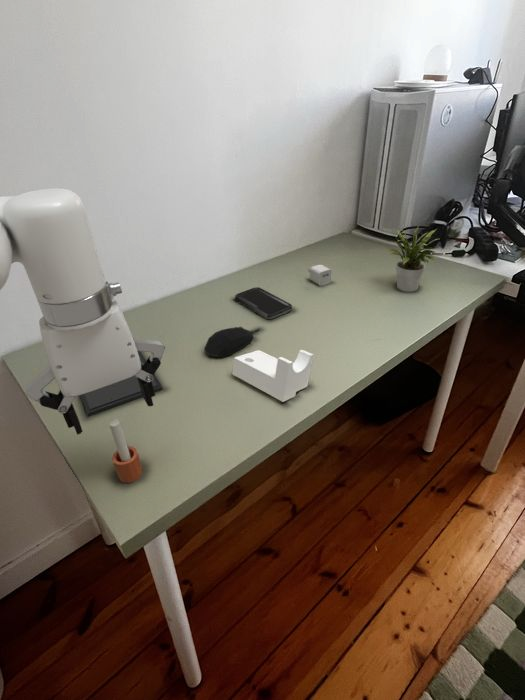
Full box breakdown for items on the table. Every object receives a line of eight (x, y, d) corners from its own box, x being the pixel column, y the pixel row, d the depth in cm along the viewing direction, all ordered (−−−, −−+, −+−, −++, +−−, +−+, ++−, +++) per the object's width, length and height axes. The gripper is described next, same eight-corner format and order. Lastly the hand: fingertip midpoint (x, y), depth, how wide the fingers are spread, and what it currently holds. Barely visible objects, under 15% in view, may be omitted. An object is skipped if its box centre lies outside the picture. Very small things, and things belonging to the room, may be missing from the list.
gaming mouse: (268, 334, 98) (268, 319, 95) (217, 362, 89) (215, 346, 87) (249, 325, 101) (248, 310, 99) (199, 351, 93) (196, 335, 91)
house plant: (373, 298, 110) (380, 235, 101) (375, 275, 121) (381, 217, 112) (433, 301, 107) (445, 237, 98) (429, 278, 118) (440, 218, 109)
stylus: (126, 476, 65) (110, 427, 59) (124, 470, 66) (108, 421, 60) (135, 472, 65) (120, 423, 60) (133, 466, 67) (117, 417, 61)
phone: (257, 286, 116) (293, 305, 106) (257, 290, 117) (293, 309, 106) (233, 295, 112) (268, 316, 102) (233, 299, 113) (268, 320, 103)
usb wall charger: (319, 286, 117) (319, 272, 115) (304, 277, 122) (304, 264, 120) (331, 282, 119) (331, 268, 116) (316, 274, 124) (316, 260, 122)
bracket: (306, 391, 82) (313, 354, 79) (282, 401, 77) (289, 363, 74) (256, 365, 89) (261, 331, 86) (232, 374, 84) (236, 338, 81)
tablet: (88, 416, 77) (86, 412, 77) (70, 367, 91) (69, 363, 90) (163, 389, 83) (162, 385, 82) (136, 346, 96) (135, 343, 96)
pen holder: (122, 486, 64) (115, 468, 62) (115, 470, 67) (109, 452, 64) (145, 476, 65) (140, 458, 63) (138, 460, 68) (133, 442, 66)
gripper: (140, 273, 56) (165, 378, 66) (-8, 312, 49) (44, 422, 59) (158, 294, 50) (182, 405, 60) (-5, 341, 44) (51, 457, 53)
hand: (114, 413), depth 59 cm, fingers open, 9 cm apart
